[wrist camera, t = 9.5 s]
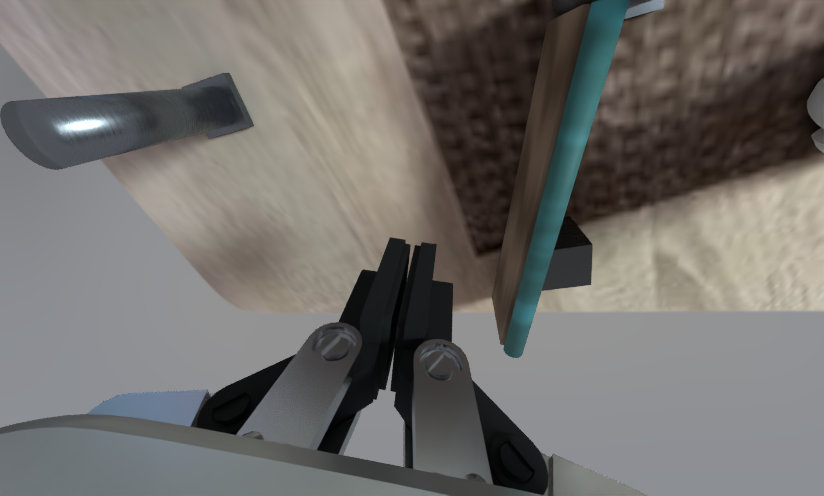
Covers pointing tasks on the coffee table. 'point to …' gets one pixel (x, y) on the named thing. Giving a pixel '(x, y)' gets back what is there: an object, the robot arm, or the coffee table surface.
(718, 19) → the coffee table surface
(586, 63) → the gate
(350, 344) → the robot arm
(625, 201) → the coffee table surface
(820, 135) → the water bottle
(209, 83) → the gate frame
